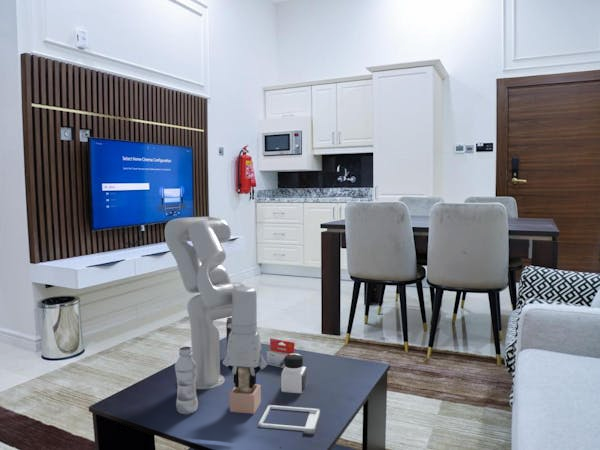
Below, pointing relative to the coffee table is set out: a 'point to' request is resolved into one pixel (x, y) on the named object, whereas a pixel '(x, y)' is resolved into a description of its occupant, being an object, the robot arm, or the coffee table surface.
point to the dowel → (244, 380)
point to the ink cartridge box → (279, 352)
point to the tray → (308, 428)
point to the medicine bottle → (293, 374)
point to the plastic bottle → (186, 382)
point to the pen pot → (245, 400)
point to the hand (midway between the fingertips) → (244, 385)
